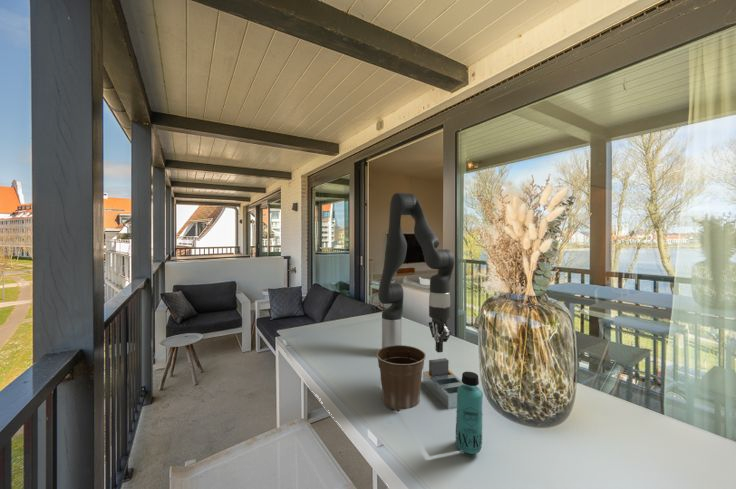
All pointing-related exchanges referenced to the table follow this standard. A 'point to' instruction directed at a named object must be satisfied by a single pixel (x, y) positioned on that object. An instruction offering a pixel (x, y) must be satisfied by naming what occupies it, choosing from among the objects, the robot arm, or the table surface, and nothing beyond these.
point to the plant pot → (401, 375)
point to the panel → (438, 367)
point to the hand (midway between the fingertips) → (439, 351)
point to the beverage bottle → (469, 414)
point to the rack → (443, 387)
